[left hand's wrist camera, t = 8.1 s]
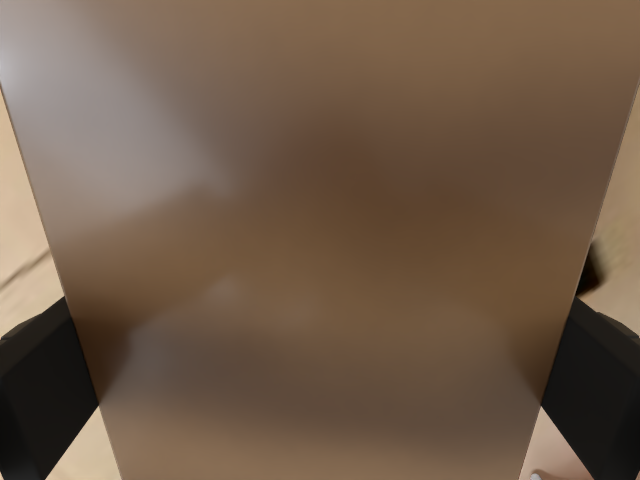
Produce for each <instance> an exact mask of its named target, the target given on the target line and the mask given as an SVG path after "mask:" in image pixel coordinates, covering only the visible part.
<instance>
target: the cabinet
mask: <svg viewBox="0 0 640 480" xmlns="http://www.w3.org/2000/svg"><path fill="white" fill-rule="evenodd" d="M639 84H640V0H0V89H1V93H2V96H3V99H4V102H5V105H6V109H7V112H8V115H9V118H10V121H11V125H12V128H13V131H14V134H15V138H16V141H17V144H18V147H19V150H20V154H21V157H22V160H23V163H24V167H25V170H26V173H27V176H28V179H29V183H30V186H31V189H32V192H33V196H34V199H35V202H36V205H37V208H38V212H39V215H40V218H41V221H42V224H43V228H44V231H45V234H46V237H47V241H48V244H49V247H50V250H51V253H52V257H53V260H54V263H55V266H56V270H57V273H58V276H59V279H60V282H61V286H62V289H63V292H64V295H65V298H66V302H67V305H68V308H69V311H70V315H71V318H72V321H73V324H74V327H75V331H76V334H77V337H78V340H79V344H80V347H81V350H82V353H83V356H84V360H85V363H86V366H87V369H88V373H89V376H90V379H91V382H92V385H93V389H94V392H95V395H96V398H97V401H98V405H99V408H100V411H101V414H102V418H103V421H104V424H105V427H106V430H107V434H108V437H109V440H110V443H111V447H112V450H113V453H114V456H115V459H116V463H117V466H118V469H119V472H120V476H121V479H122V480H518V479H519V475H520V472H521V469H522V466H523V462H524V459H525V456H526V453H527V449H528V446H529V443H530V440H531V436H532V433H533V430H534V426H535V423H536V420H537V417H538V413H539V410H540V407H541V404H542V400H543V397H544V394H545V391H546V387H547V384H548V381H549V377H550V374H551V371H552V368H553V364H554V361H555V358H556V355H557V351H558V348H559V345H560V342H561V338H562V335H563V332H564V329H565V325H566V322H567V319H568V315H569V312H570V309H571V306H572V302H573V299H574V296H575V293H576V289H577V286H578V283H579V280H580V276H581V273H582V270H583V266H584V263H585V260H586V257H587V253H588V250H589V247H590V244H591V240H592V237H593V234H594V231H595V227H596V224H597V221H598V217H599V214H600V211H601V208H602V204H603V201H604V198H605V195H606V191H607V188H608V185H609V182H610V178H611V175H612V172H613V168H614V165H615V162H616V159H617V155H618V152H619V149H620V146H621V142H622V139H623V136H624V133H625V129H626V126H627V123H628V119H629V116H630V113H631V110H632V106H633V103H634V100H635V97H636V93H637V90H638V87H639Z"/></svg>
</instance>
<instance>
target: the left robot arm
mask: <svg viewBox="0 0 640 480" xmlns="http://www.w3.org/2000/svg"><path fill="white" fill-rule="evenodd" d="M98 406H99V405H98V401H97V398H96V395H95V392H94V389H93V385H92V382H91V379H90V376H89V373H88V369H87V366H86V363H85V360H84V356H83V353H82V350H81V347H80V344H79V340H78V337H77V334H76V331H75V327H74V324H73V321H72V318H71V315H70V311H69V308H68V305H67V302H66V298H65V296H64V297H62V298H61V299H60V300H58V301H57V302H56V303H55V304H53V305H52V306H51V307H49V308H48V309H47V310H45V311H44V312H43V313H42V314H39V315H37V316H35V317H33V318H31V319H29V320H27V321H25V322H22V323H20V324H18V325H17V326H16V327H14V328H13V329H12V330H10V331H9V332H8V333H6V334H5V335H4V336H2V337H1V340H0V472H1V474H2V477H3V479H4V480H45V479H46V478H47V476H48V475H49V474H50V472H51V471H52V469H53V468H54V467H55V465H56V464H57V462H58V461H59V460H60V458H61V457H62V456H63V454H64V453H65V451H66V450H67V449H68V447H69V446H70V444H71V443H72V442H73V440H74V439H75V438H76V436H77V435H78V433H79V432H80V431H81V429H82V428H83V426H84V425H85V424H86V422H87V421H88V419H89V418H90V417H91V415H92V414H93V413H94V411H95V410H96V408H97V407H98ZM541 406H542V408H543V409H544V410H545V412H546V413H547V415H548V416H549V417H550V419H551V420H552V421H553V423H554V424H555V426H556V427H557V428H558V430H559V431H560V433H561V434H562V435H563V437H564V438H565V439H566V441H567V442H568V444H569V445H570V446H571V448H572V449H573V451H574V452H575V453H576V455H577V456H578V458H579V459H580V460H581V462H582V463H583V464H584V466H585V467H586V469H587V470H588V471H589V473H590V474H591V476H592V477H593V478H594V480H636V477H637V475H638V473H639V471H640V338H639V336H638V335H637V334H636V333H634V332H633V331H632V330H630V329H629V328H628V327H626V326H625V325H624V324H622V323H620V322H618V321H616V320H614V319H612V318H610V317H608V316H606V315H604V314H602V313H600V312H595V311H594V310H593V309H591V308H590V307H589V306H588V305H586V304H585V303H584V302H582V301H581V300H580V299H578V298H577V297H576V296H574V299H573V302H572V306H571V309H570V312H569V315H568V319H567V322H566V325H565V329H564V332H563V335H562V338H561V342H560V345H559V348H558V351H557V355H556V358H555V361H554V364H553V368H552V371H551V374H550V377H549V381H548V384H547V387H546V391H545V394H544V397H543V400H542V404H541Z"/></svg>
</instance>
